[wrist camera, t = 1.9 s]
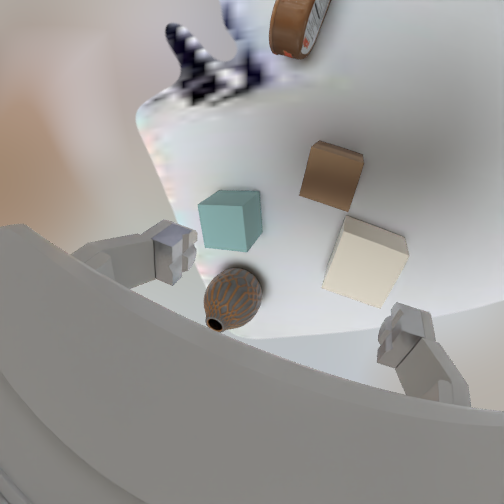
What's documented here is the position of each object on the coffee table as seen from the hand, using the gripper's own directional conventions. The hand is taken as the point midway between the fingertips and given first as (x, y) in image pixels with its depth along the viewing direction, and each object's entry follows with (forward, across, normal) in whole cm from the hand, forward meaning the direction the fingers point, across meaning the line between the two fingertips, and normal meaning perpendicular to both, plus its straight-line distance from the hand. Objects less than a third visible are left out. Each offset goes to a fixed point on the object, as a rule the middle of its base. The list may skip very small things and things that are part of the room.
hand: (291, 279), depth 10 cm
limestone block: (+19, -6, +8) cm, 22 cm away
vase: (+20, +7, +18) cm, 27 cm away
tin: (+20, +5, -17) cm, 26 cm away
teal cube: (+20, +9, +8) cm, 23 cm away
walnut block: (+19, 0, 0) cm, 19 cm away
